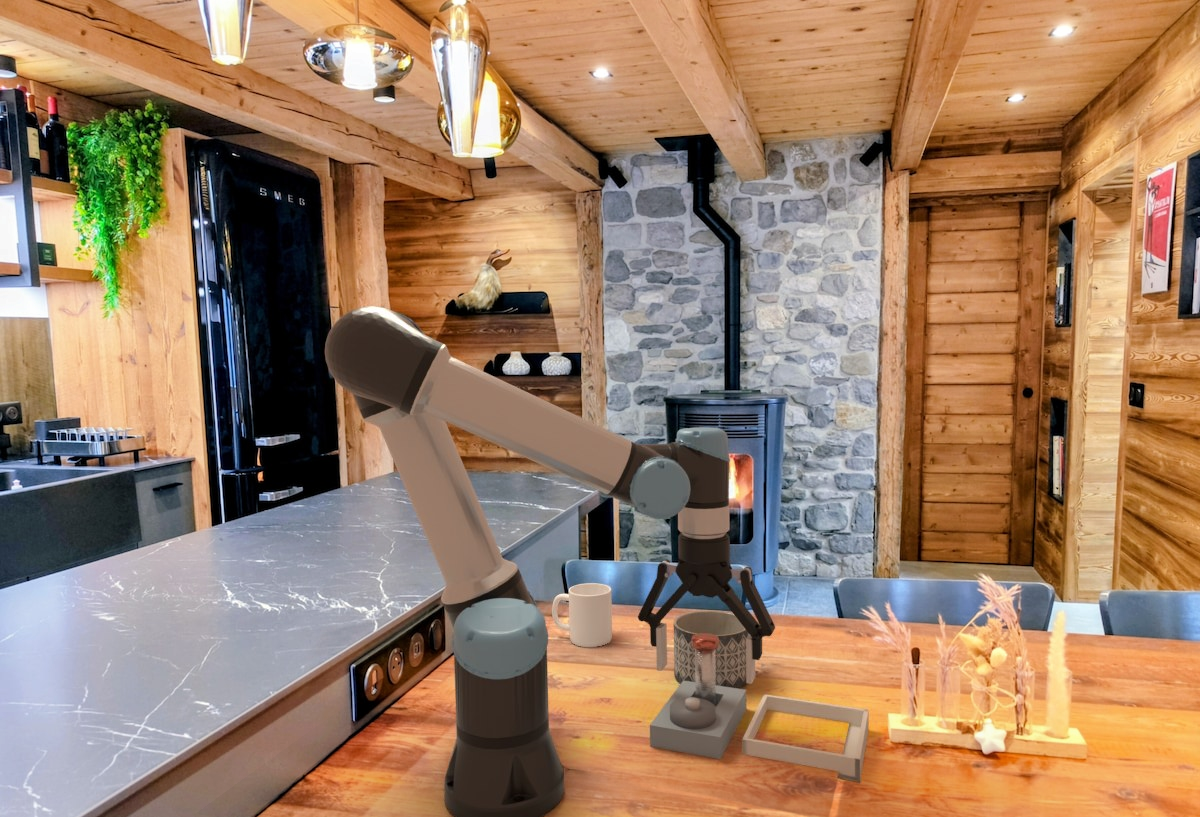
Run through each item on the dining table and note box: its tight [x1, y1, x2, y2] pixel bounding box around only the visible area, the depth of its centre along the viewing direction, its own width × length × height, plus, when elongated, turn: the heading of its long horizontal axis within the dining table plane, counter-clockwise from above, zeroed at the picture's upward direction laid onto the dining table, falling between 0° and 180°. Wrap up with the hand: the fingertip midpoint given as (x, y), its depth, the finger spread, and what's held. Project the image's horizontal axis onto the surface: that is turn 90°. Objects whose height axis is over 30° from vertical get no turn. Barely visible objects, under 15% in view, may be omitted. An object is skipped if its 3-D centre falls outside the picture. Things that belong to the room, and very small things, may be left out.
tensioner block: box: [649, 681, 747, 760], centre depth 114 cm, size 16×10×7 cm, turn 157°
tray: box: [741, 693, 870, 783], centre depth 111 cm, size 15×15×3 cm
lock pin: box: [692, 633, 719, 706], centre depth 117 cm, size 4×4×12 cm
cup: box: [551, 582, 613, 648], centre depth 153 cm, size 8×12×10 cm
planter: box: [673, 609, 749, 689], centre depth 132 cm, size 13×13×10 cm
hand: (705, 673), depth 117 cm, fingers open, 13 cm apart
